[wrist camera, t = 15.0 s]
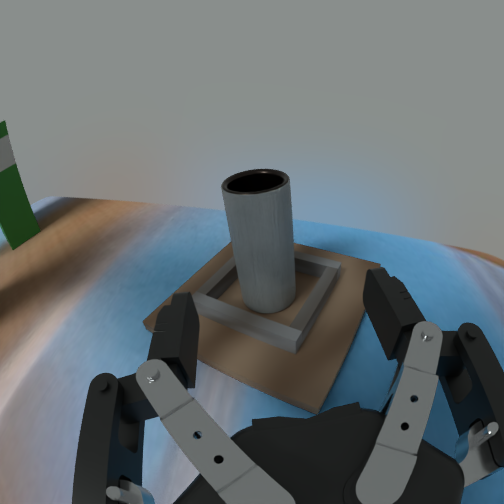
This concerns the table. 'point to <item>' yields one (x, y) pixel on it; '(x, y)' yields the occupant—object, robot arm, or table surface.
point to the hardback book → (13, 197)
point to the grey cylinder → (262, 237)
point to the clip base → (280, 325)
